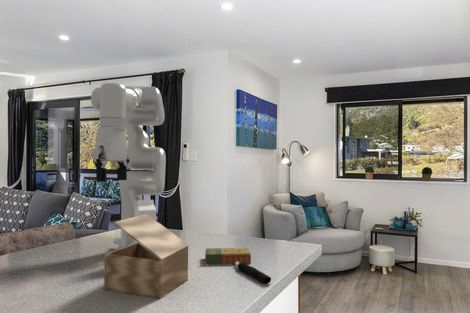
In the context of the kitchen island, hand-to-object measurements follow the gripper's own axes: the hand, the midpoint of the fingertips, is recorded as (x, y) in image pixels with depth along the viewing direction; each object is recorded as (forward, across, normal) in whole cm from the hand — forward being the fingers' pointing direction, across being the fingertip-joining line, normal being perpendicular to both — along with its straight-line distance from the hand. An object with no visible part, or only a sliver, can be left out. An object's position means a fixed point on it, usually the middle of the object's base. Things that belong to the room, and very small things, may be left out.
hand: (112, 180), depth 113 cm
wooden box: (+30, 0, +13) cm, 33 cm away
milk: (+30, -20, -1) cm, 36 cm away
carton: (+31, -32, +26) cm, 51 cm away
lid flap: (+16, 0, +14) cm, 21 cm away
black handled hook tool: (+31, -20, +38) cm, 53 cm away
